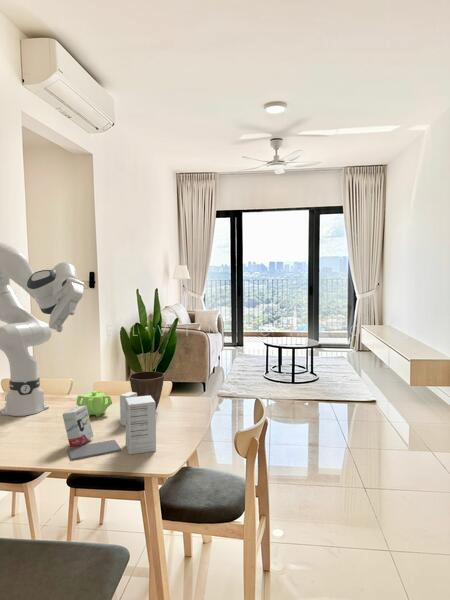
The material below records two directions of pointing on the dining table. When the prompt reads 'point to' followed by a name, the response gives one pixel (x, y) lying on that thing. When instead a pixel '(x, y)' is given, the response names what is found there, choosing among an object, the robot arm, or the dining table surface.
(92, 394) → the teapot
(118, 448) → the slate tile
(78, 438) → the ink box
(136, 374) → the plant pot
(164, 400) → the dining table surface
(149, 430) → the supplement box
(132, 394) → the skincare box
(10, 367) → the robot arm
